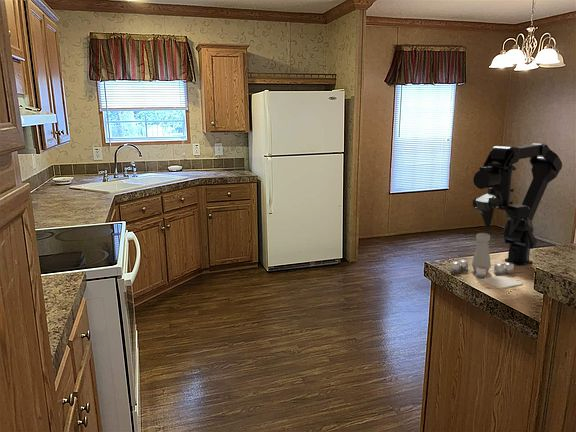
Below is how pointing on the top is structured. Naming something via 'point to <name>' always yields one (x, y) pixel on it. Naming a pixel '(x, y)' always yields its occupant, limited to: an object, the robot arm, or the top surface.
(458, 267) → the spacer posts
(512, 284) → the mat
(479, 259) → the salt shaker
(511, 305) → the top surface
